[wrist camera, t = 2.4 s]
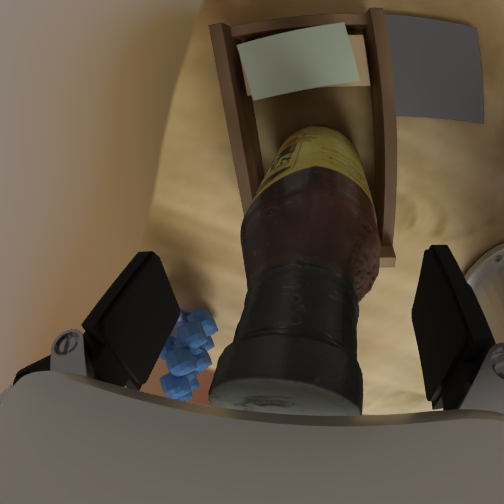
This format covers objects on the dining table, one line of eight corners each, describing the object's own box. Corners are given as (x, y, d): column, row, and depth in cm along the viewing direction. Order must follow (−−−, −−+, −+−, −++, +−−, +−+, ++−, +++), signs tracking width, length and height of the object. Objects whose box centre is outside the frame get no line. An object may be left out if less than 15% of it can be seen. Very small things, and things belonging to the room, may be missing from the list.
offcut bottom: (356, 41, 17) (362, 35, 14) (363, 84, 18) (370, 85, 16) (250, 51, 19) (238, 47, 16) (258, 92, 21) (247, 95, 18)
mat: (473, 28, 13) (476, 28, 12) (480, 122, 17) (483, 123, 16) (379, 15, 15) (381, 13, 14) (391, 114, 19) (393, 115, 18)
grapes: (177, 270, 32) (122, 354, 22) (235, 290, 32) (196, 384, 22) (174, 334, 39) (136, 406, 29) (221, 351, 39) (191, 428, 29)
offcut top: (340, 30, 14) (344, 22, 12) (354, 80, 16) (360, 81, 13) (249, 49, 16) (236, 45, 14) (263, 97, 18) (253, 100, 15)
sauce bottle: (287, 113, 21) (146, 276, 5) (367, 135, 20) (477, 356, 4) (272, 190, 25) (169, 421, 9) (345, 209, 24) (347, 463, 8)
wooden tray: (371, 20, 15) (387, 2, 10) (383, 226, 24) (394, 267, 19) (229, 33, 18) (199, 22, 13) (262, 228, 27) (247, 267, 22)
